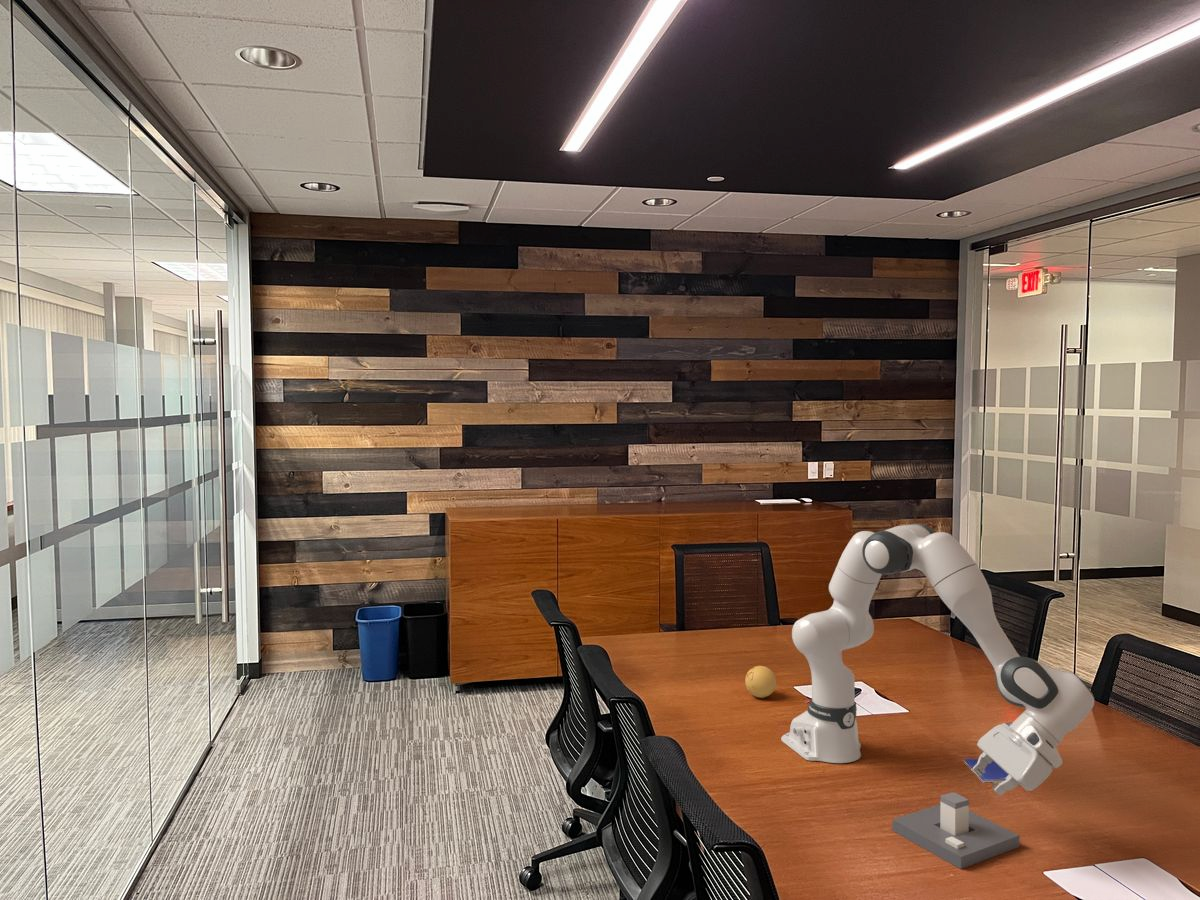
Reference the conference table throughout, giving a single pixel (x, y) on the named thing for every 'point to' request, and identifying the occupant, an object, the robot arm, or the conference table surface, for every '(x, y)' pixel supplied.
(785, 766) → the conference table surface
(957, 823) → the plug
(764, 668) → the stress ball
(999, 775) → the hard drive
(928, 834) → the socket plate
